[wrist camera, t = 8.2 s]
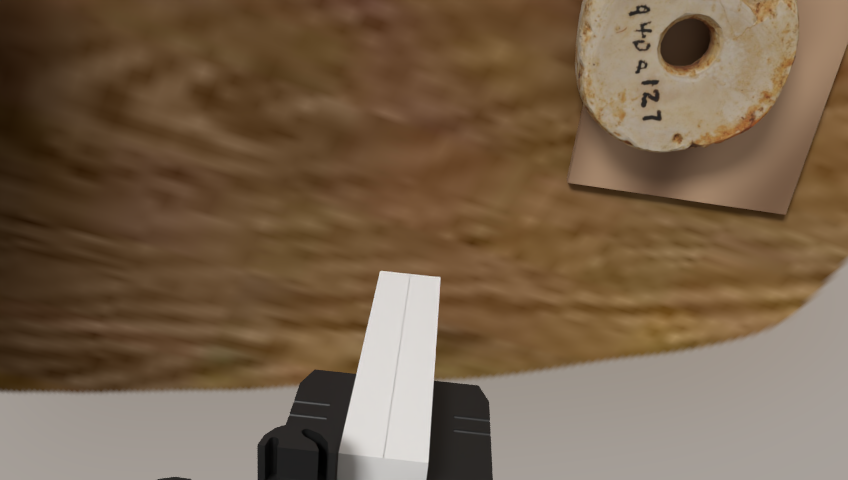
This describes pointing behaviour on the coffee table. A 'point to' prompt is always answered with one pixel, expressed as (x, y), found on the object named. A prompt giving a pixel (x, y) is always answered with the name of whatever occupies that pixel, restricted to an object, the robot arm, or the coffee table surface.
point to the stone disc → (683, 69)
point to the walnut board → (740, 155)
